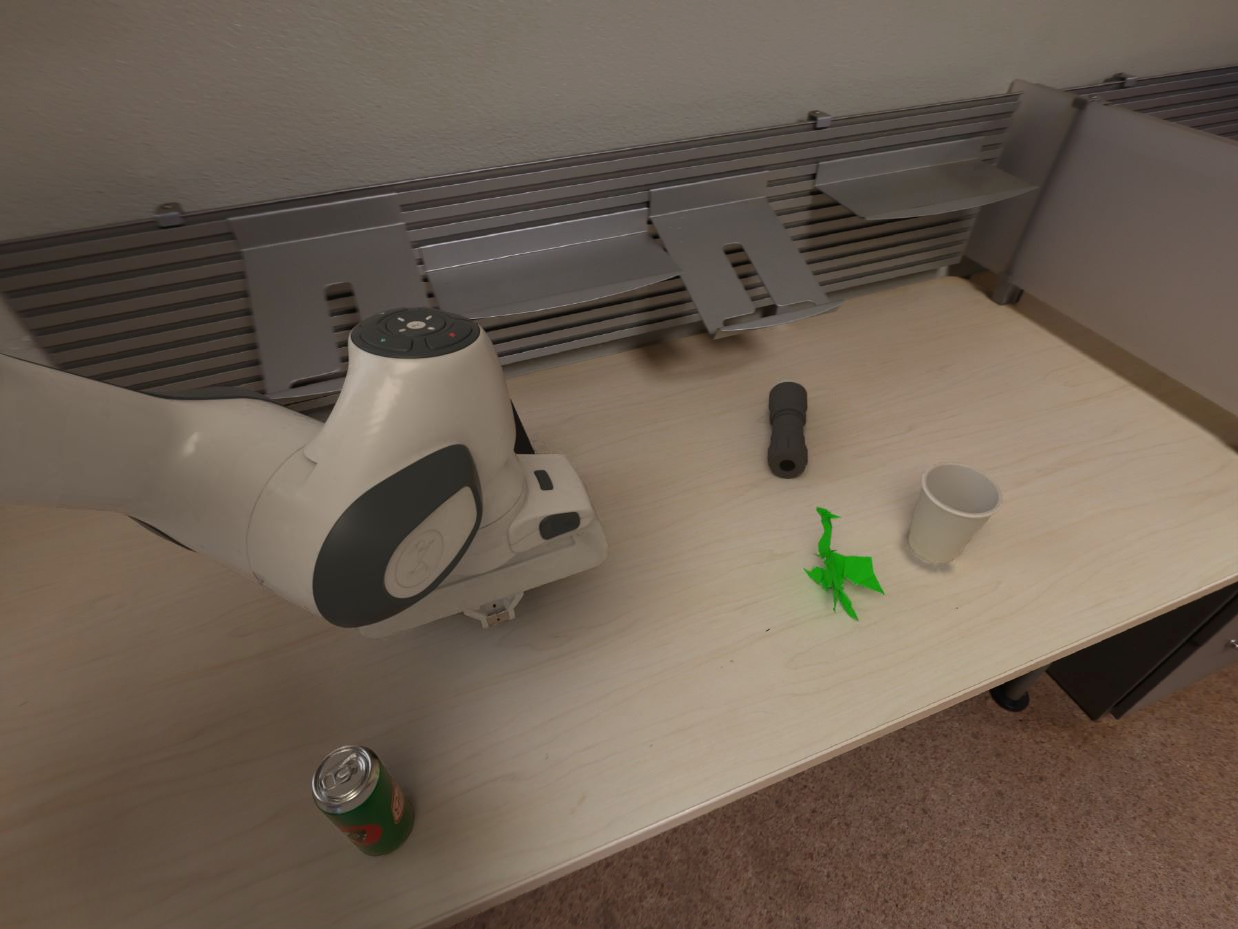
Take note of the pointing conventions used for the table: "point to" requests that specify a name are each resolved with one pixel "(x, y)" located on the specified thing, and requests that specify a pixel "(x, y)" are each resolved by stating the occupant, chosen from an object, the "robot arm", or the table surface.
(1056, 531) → the table surface
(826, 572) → the figurine
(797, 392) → the flashlight
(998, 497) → the dixie cup
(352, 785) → the soda can
